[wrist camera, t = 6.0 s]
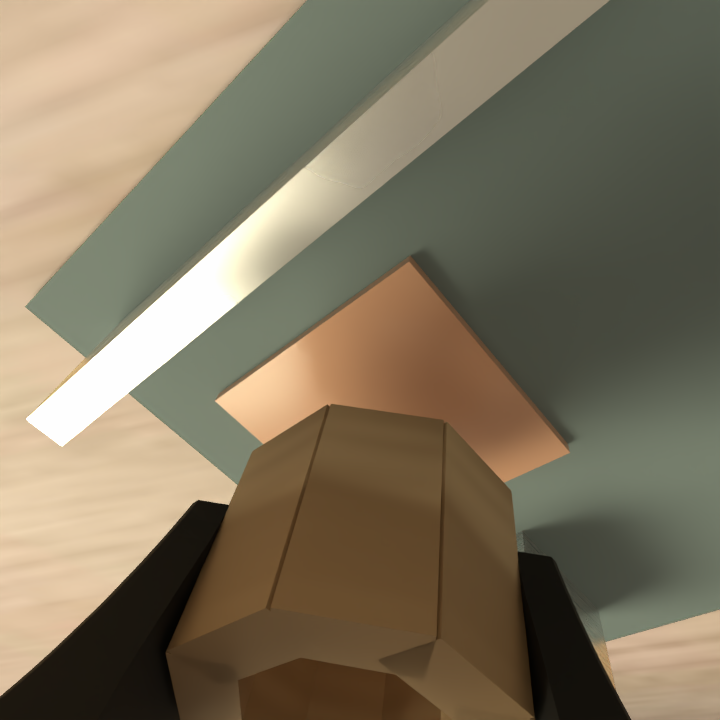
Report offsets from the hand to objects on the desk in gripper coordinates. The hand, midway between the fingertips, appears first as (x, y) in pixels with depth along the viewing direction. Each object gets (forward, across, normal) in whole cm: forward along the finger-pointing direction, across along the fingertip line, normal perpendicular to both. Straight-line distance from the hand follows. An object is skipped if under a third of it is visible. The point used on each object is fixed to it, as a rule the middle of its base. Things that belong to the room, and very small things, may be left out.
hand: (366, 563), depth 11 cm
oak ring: (+1, 0, 0) cm, 1 cm away
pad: (+4, 0, 0) cm, 4 cm away
